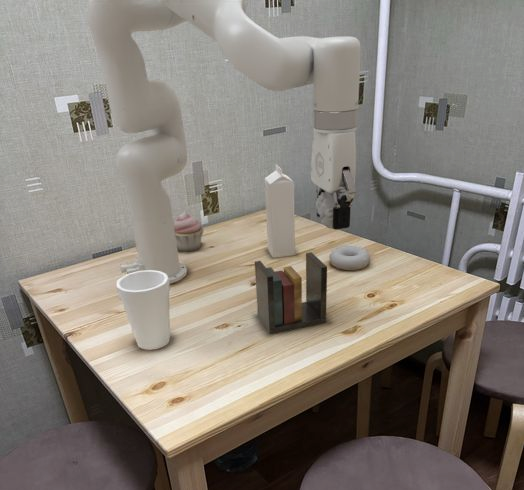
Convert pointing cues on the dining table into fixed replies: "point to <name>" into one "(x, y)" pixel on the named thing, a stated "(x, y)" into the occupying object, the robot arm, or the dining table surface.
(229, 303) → the dining table surface
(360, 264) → the donut
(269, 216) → the milk
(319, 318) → the book rack
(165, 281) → the foam cup
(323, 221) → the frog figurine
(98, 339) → the dining table surface
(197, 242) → the cupcake
